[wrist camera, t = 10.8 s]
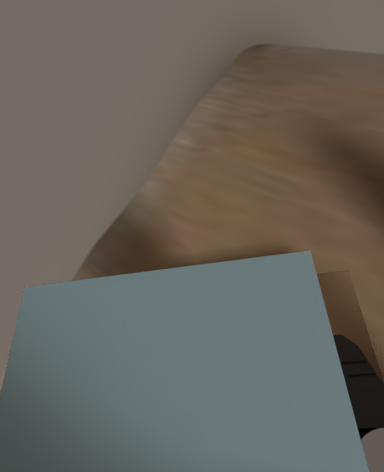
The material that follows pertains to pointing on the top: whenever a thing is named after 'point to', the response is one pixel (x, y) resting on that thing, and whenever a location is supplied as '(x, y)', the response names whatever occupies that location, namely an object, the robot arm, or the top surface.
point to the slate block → (179, 374)
